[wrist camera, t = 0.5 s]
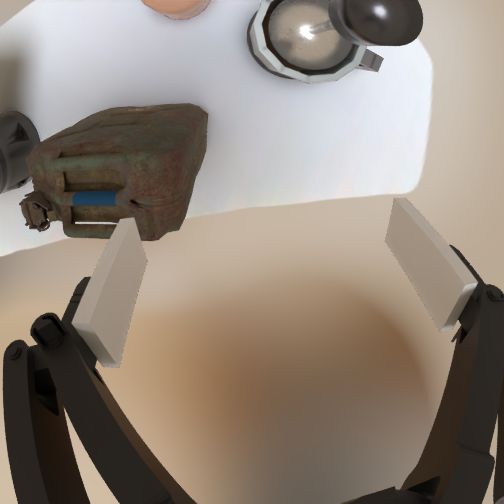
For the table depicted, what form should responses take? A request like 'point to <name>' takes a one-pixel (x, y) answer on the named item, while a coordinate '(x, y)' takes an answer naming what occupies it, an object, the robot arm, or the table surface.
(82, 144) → the canister
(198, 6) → the peach mug
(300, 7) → the plunger
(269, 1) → the faceted grey tankard
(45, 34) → the table surface
